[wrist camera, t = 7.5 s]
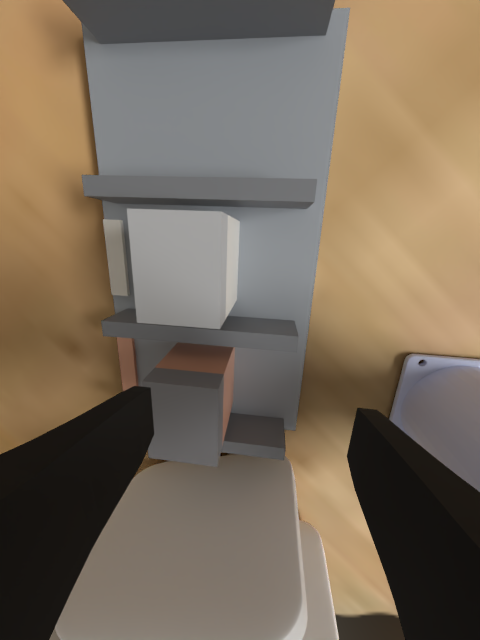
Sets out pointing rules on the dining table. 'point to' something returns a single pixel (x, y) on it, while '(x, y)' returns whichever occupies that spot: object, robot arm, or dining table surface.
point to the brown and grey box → (191, 403)
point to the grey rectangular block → (183, 266)
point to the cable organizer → (205, 560)
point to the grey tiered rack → (220, 173)
